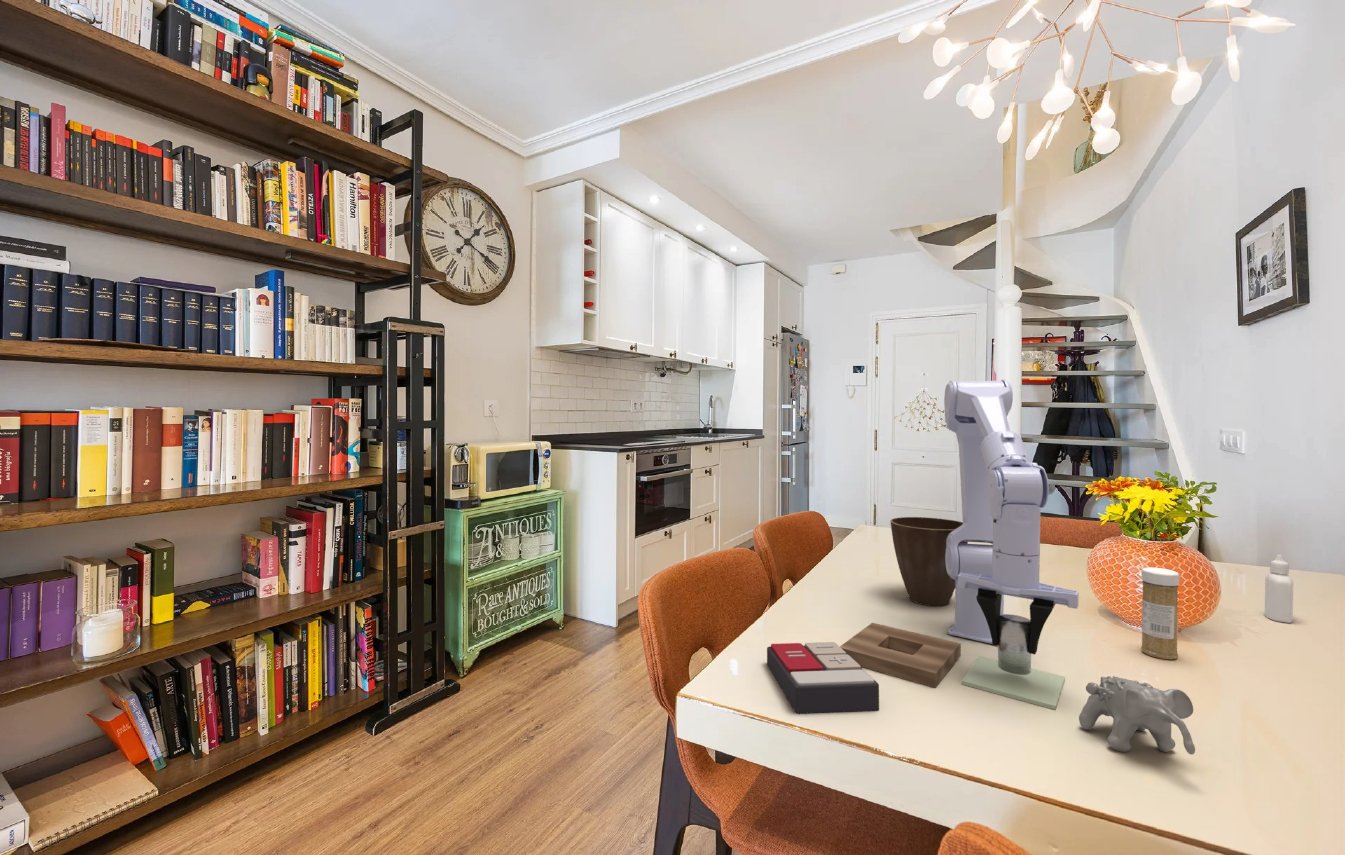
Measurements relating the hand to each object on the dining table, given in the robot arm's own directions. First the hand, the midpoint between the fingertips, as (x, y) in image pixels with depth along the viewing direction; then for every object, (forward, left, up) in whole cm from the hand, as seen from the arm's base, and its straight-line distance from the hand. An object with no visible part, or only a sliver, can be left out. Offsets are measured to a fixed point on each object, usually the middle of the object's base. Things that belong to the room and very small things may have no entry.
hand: (1014, 647), depth 81 cm
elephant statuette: (+10, +14, -5) cm, 18 cm away
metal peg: (0, 0, -3) cm, 3 cm away
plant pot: (-31, -20, -5) cm, 37 cm away
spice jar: (-26, +16, -5) cm, 31 cm away
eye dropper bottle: (-62, +34, -5) cm, 71 cm away
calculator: (+19, -21, -6) cm, 28 cm away
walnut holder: (+2, -15, -5) cm, 16 cm away
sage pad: (0, 0, -5) cm, 5 cm away
